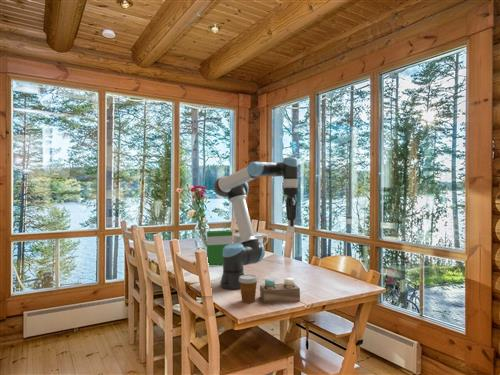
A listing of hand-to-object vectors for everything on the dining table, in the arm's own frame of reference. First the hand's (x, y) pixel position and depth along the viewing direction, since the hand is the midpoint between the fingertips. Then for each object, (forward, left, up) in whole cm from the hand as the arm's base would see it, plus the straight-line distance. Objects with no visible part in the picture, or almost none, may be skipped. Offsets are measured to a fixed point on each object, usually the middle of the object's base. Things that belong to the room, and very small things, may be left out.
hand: (291, 232), depth 178 cm
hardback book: (-77, -31, -33) cm, 89 cm away
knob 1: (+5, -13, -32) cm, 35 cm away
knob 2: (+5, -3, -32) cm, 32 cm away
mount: (+5, -8, -32) cm, 34 cm away
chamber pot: (-107, -5, -33) cm, 112 cm away
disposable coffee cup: (+5, -24, -33) cm, 41 cm away
